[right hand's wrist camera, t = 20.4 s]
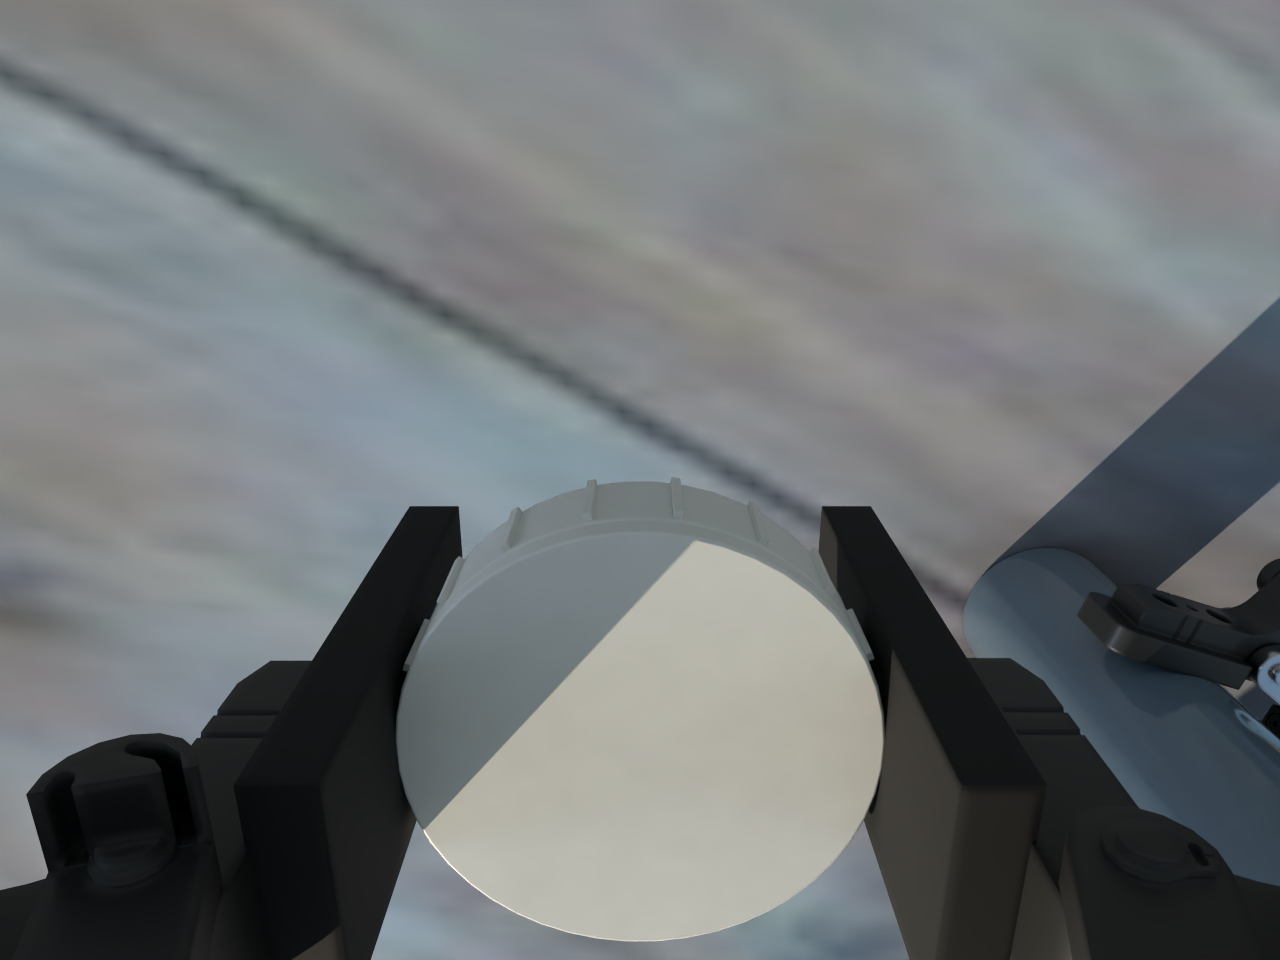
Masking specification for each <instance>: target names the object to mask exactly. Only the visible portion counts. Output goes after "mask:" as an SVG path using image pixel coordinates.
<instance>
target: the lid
mask: <svg viewBox="0 0 1280 960" xmlns="http://www.w3.org/2000/svg"><path fill="white" fill-rule="evenodd" d="M873 659H874V656H873V653H872V650H871V648H870V646H869V644H868V642H867V639H866V637H865V635H864V633H863V631H862V628H861V626H860V624H859V622H858V620H857V617H856V615H855V613H854V611H853V609H849V610H846V608H845V606H844V604H843V601H842V599H841V597H840V595H839V593H838V592H837V590H836V588H835V586H834V585H833V583H832V581H831V579H830V577H829V575H828V573H827V570H826V568H825V566H824V564H823V561H822V559H821V557H820V554H819V552H818V551H817V550H816V549H815V548H814V547H813V548H812V549H810V550H809V551H808V550H807V549H806V548H805V547H804V546H803V545H802V544H801V543H800V542H799V541H798V540H797V539H796V538H795V537H794V536H793V535H792V534H790V533H789V532H788V531H786V530H785V529H783V528H782V527H781V526H779V525H778V524H777V523H775V522H774V521H772V520H771V519H770V518H768V517H767V516H765V515H763V514H761V513H760V510H759V506H758V504H756V503H754V502H752V501H750V503H749V504H748V506H746V505H744V504H743V503H740V502H738V501H735V500H732V499H730V498H727V497H725V496H722V495H719V494H717V493H714V492H710V491H706V490H702V489H698V488H694V487H690V486H686V485H681V483H680V479H679V478H671V482H670V483H661V482H619V483H611V484H603V485H597V482H596V480H590V481H587V487H586V488H583V489H579V490H575V491H571V492H567V493H563V494H561V495H558V496H556V497H553V498H551V499H548V500H546V501H543V502H541V503H538V504H536V505H534V506H532V507H530V508H529V509H527V510H525V511H523V512H522V511H521V510H520V508H519V507H517V508H515V509H514V510H512V511H511V514H510V517H509V520H508V521H507V522H505V523H504V524H503V525H501V526H500V527H498V528H497V529H496V530H494V531H493V532H492V533H490V534H489V535H488V536H487V537H486V538H485V539H484V540H483V541H482V542H481V543H480V544H479V545H478V546H477V547H476V548H475V549H474V550H472V551H471V552H470V553H469V554H468V556H467V557H466V558H465V559H463V558H461V557H460V556H459V557H458V558H457V559H456V560H455V561H454V564H453V566H452V568H451V570H450V573H449V575H448V577H447V579H446V582H445V584H444V586H443V588H442V591H441V593H440V595H439V597H438V600H437V605H436V607H435V609H434V612H433V614H432V616H431V618H430V620H428V619H424V621H423V624H422V626H421V628H420V630H419V632H418V635H417V637H416V639H415V641H414V643H413V646H412V648H411V650H410V652H409V654H408V657H407V659H406V661H405V663H404V667H403V671H407V675H406V678H405V680H404V683H403V686H402V689H401V694H400V699H399V704H398V709H397V714H396V746H397V755H398V764H399V773H400V776H401V780H402V783H403V787H404V791H405V794H406V797H407V799H408V802H409V804H410V806H411V808H412V811H413V813H414V815H415V817H416V820H417V821H418V823H419V825H420V826H421V828H422V829H423V831H424V833H425V834H426V836H427V837H428V839H429V840H430V842H431V844H432V845H433V846H434V847H435V848H436V850H437V851H438V852H439V853H440V854H441V856H442V857H443V858H444V859H445V860H446V862H447V863H448V864H449V865H450V866H451V867H452V868H453V869H454V870H456V871H457V872H458V873H459V874H460V875H461V876H462V877H463V878H464V879H465V880H466V881H467V882H468V883H470V884H471V885H473V886H474V887H475V888H477V889H478V890H479V891H481V892H482V893H484V894H485V895H486V896H488V897H489V898H490V899H492V900H494V901H495V902H497V903H499V904H501V905H503V906H504V907H506V908H508V909H510V910H511V911H513V912H515V913H517V914H519V915H522V916H524V917H526V918H529V919H531V920H533V921H536V922H538V923H540V924H543V925H546V926H549V927H553V928H556V929H559V930H562V931H566V932H569V933H573V934H578V935H583V936H588V937H594V938H599V939H610V940H620V941H662V940H671V939H681V938H688V937H693V936H697V935H702V934H707V933H712V932H716V931H719V930H722V929H725V928H728V927H731V926H734V925H738V924H741V923H743V922H745V921H748V920H750V919H752V918H754V917H757V916H759V915H761V914H763V913H766V912H768V911H770V910H771V909H773V908H775V907H776V906H778V905H780V904H782V903H783V902H785V901H787V900H789V899H790V898H792V897H793V896H795V895H796V894H797V893H799V892H800V891H801V890H803V889H804V888H805V887H807V886H808V885H809V884H811V883H812V882H813V881H815V880H816V879H817V878H818V877H819V876H820V875H821V874H822V873H823V872H824V871H825V870H826V869H827V868H828V867H829V866H830V865H831V864H832V863H833V862H834V861H835V860H836V859H837V858H838V856H839V855H840V854H841V853H842V851H843V850H844V849H845V848H846V847H847V845H848V844H849V843H850V842H851V840H852V839H853V837H854V835H855V834H856V832H857V830H858V829H859V827H860V825H861V824H862V822H863V820H864V819H865V817H866V814H867V812H868V810H869V807H870V805H871V803H872V800H873V798H874V796H875V793H876V790H877V786H878V782H879V778H880V774H881V770H882V761H883V752H884V743H885V723H884V711H883V706H882V701H881V697H880V692H879V687H878V684H877V681H876V679H875V676H874V674H873V671H872V668H871V666H870V663H869V661H870V660H873Z"/></svg>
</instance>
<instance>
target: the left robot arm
mask: <svg viewBox="0 0 1280 960" xmlns="http://www.w3.org/2000/svg"><path fill="white" fill-rule="evenodd" d="M1257 587H1258V590H1259V591H1258V592H1257V593H1256V594H1254V595H1253V596H1252V597H1251V598H1250V599H1249V600H1247V601H1246V602H1244V603H1243V604H1241V605H1239V606H1236V607H1233V608H1232V607H1227V608H1222V609H1221V608H1215V607H1212V606H1209V605H1206V604H1202V603H1199V602H1196V601H1192V600H1189V599H1186V598H1183V597H1179V596H1176V595H1171V594H1170V593H1166V592H1163V591H1158V590H1156V589H1153V588H1150V587H1147V586H1144V585H1140V584H1130V585H1118V587H1117V588H1116V590H1115V592H1114V594H1113V595H1112V597H1110V596H1107V595H1104V594H1100V593H1097V592H1089V594H1088V596H1087V597H1086V599H1085V601H1084V603H1083V605H1082V606H1081V608H1080V610H1079V612H1078V614H1077V616H1078V617H1079V619H1080V620H1081V621H1082V622H1083V623H1084V624H1085V625H1086V626H1087V627H1088V628H1089V629H1090V631H1091V632H1092V633H1093V634H1094V635H1095V636H1096V637H1097V638H1098V639H1099V640H1100V641H1101V642H1102V643H1103V644H1104V645H1105V646H1107V647H1108V648H1110V649H1111V650H1113V651H1115V652H1117V653H1119V654H1121V655H1123V656H1126V657H1129V658H1133V659H1136V660H1140V661H1143V662H1146V663H1150V664H1153V665H1156V666H1160V667H1163V668H1167V669H1170V670H1173V671H1177V672H1180V673H1183V674H1187V675H1190V676H1194V677H1198V678H1202V679H1206V680H1208V681H1211V682H1214V683H1217V684H1221V685H1224V686H1227V687H1231V688H1234V689H1237V690H1239V689H1240V687H1241V685H1242V684H1243V682H1244V681H1245V679H1246V680H1250V681H1253V682H1254V683H1255V684H1256V685H1257V686H1258V687H1259V688H1261V689H1262V690H1263V691H1264V692H1265V693H1266V694H1268V695H1269V696H1270V697H1271V698H1272V699H1273V700H1275V701H1276V702H1277V703H1278V704H1279V705H1280V559H1277V560H1274V561H1272V562H1270V563H1268V564H1267V565H1266V566H1265V567H1264V568H1263V569H1262V570H1261V571H1260V573H1259V575H1258V578H1257ZM1261 722H1262V723H1264V724H1265V725H1266V726H1267V727H1268V728H1269V729H1270V730H1271V731H1272V732H1273V733H1274V734H1275V735H1276V736H1277V737H1279V738H1280V706H1278V705H1275V704H1273V705H1272V706H1271V708H1270V709H1269V711H1268V712H1267V714H1266V715H1265V717H1264V718H1263V720H1262V721H1261Z"/></svg>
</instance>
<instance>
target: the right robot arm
mask: <svg viewBox="0 0 1280 960" xmlns="http://www.w3.org/2000/svg"><path fill="white" fill-rule="evenodd" d="M819 554H820V557H821V559H822V561H823V564H824V566H825V568H826V570H827V573H828V575H829V577H830V579H831V581H832V583H833V585H834V586H835V588H836V590H837V592H838V593H839V595H840V597H841V599H842V601H843V604H844V606H845V608H846V610H849V609H853V611H854V613H855V615H856V617H857V620H858V622H859V624H860V626H861V628H862V631H863V633H864V635H865V637H866V639H867V642H868V644H869V646H870V648H871V650H872V653H873V656H874V659H873V660H870V661H869V663H870V666H871V668H872V671H873V674H874V676H875V679H876V681H877V684H878V687H879V692H880V697H881V701H882V706H883V711H884V723H885V743H884V752H883V761H882V770H881V774H880V778H879V782H878V786H877V790H876V793H875V796H874V798H873V800H872V803H871V805H870V807H869V810H868V812H867V814H866V817H865V819H864V822H865V825H866V828H867V831H868V834H869V837H870V840H871V843H872V846H873V849H874V852H875V855H876V858H877V861H878V864H879V867H880V870H881V873H882V876H883V879H884V882H885V885H886V889H887V892H888V895H889V898H890V901H891V904H892V907H893V910H894V913H895V916H896V919H897V922H898V925H899V928H900V931H901V934H902V937H903V940H904V943H905V946H906V949H907V952H908V955H909V958H910V960H1280V886H1276V885H1272V884H1268V883H1263V882H1259V881H1255V880H1251V879H1248V878H1244V877H1241V876H1238V875H1234V874H1233V873H1232V871H1231V869H1230V868H1229V866H1228V865H1227V863H1226V862H1225V860H1224V859H1223V858H1222V856H1221V855H1220V853H1219V852H1218V850H1217V849H1216V848H1214V847H1213V846H1212V845H1211V844H1209V843H1208V842H1207V841H1206V840H1204V839H1203V838H1202V837H1201V836H1200V835H1198V834H1197V833H1196V832H1195V831H1193V830H1192V829H1190V828H1188V827H1186V826H1184V825H1182V824H1180V823H1178V822H1176V821H1174V820H1172V819H1170V818H1168V817H1166V816H1164V815H1161V814H1157V813H1154V812H1150V811H1147V810H1143V809H1140V808H1139V807H1138V806H1137V804H1136V803H1135V802H1134V800H1133V799H1132V798H1131V796H1130V795H1129V794H1128V792H1127V791H1126V790H1125V788H1124V787H1123V786H1122V784H1121V783H1120V782H1119V780H1118V779H1117V778H1116V776H1115V775H1114V774H1113V772H1112V771H1111V770H1110V768H1109V767H1108V766H1107V764H1106V763H1105V762H1104V760H1103V759H1102V758H1101V756H1100V755H1099V754H1098V752H1097V751H1096V750H1095V748H1094V747H1093V746H1092V744H1091V743H1090V742H1089V740H1088V739H1087V738H1086V736H1085V735H1081V734H1080V728H1079V727H1078V726H1077V724H1076V723H1075V722H1074V720H1073V719H1072V718H1071V716H1070V715H1069V714H1068V713H1064V707H1063V706H1062V704H1061V703H1060V702H1059V700H1058V699H1057V698H1056V696H1055V695H1054V694H1053V692H1052V691H1051V690H1050V688H1049V687H1048V686H1047V684H1046V683H1045V682H1044V681H1043V680H1042V679H1040V678H1039V677H1038V676H1036V675H1035V674H1033V673H1032V672H1030V671H1029V670H1027V669H1026V668H1024V667H1023V666H1021V665H1020V664H1018V663H1017V662H1015V661H1014V660H1012V659H1011V658H966V656H965V655H964V653H963V651H962V650H961V648H960V647H959V645H958V643H957V642H956V640H955V639H954V637H953V636H952V634H951V632H950V631H949V629H948V628H947V626H946V625H945V623H944V621H943V620H942V618H941V617H940V615H939V613H938V612H937V610H936V609H935V607H934V606H933V604H932V602H931V601H930V599H929V598H928V596H927V595H926V593H925V591H924V590H923V588H922V587H921V585H920V584H919V582H918V580H917V579H916V577H915V576H914V574H913V572H912V571H911V569H910V568H909V566H908V565H907V563H906V561H905V560H904V558H903V557H902V555H901V554H900V552H899V550H898V549H897V547H896V546H895V544H894V542H893V541H892V539H891V538H890V536H889V535H888V533H887V531H886V530H885V528H884V527H883V525H882V524H881V522H880V520H879V519H878V517H877V516H876V514H875V512H874V511H873V509H872V508H871V506H822V514H821V527H820V540H819ZM459 556H460V557H461V558H462V546H461V532H460V519H459V506H410V507H409V509H408V510H407V512H406V513H405V515H404V517H403V518H402V520H401V521H400V523H399V524H398V526H397V528H396V529H395V531H394V532H393V534H392V536H391V537H390V539H389V540H388V542H387V543H386V545H385V547H384V548H383V550H382V551H381V553H380V554H379V556H378V558H377V559H376V561H375V562H374V564H373V566H372V567H371V569H370V570H369V572H368V573H367V575H366V577H365V578H364V580H363V581H362V583H361V584H360V586H359V588H358V589H357V591H356V592H355V594H354V596H353V597H352V599H351V600H350V602H349V603H348V605H347V607H346V608H345V610H344V611H343V613H342V614H341V616H340V618H339V619H338V621H337V622H336V624H335V625H334V627H333V629H332V630H331V632H330V633H329V635H328V637H327V638H326V640H325V641H324V643H323V644H322V646H321V648H320V649H319V651H318V652H317V654H316V655H315V657H314V659H313V660H312V661H270V662H268V663H267V664H265V665H264V666H262V667H261V668H260V669H258V670H257V671H255V672H254V673H252V674H251V675H249V676H248V677H246V678H245V679H243V680H242V681H241V682H239V683H238V684H237V685H236V686H235V688H234V689H233V690H232V692H231V693H230V694H229V696H228V697H227V698H226V700H225V701H224V702H223V704H222V705H221V706H220V708H219V709H218V713H217V716H213V717H212V718H211V720H210V721H209V722H208V724H207V725H206V726H205V728H204V729H203V730H202V732H201V738H197V739H196V740H195V741H194V743H193V744H192V745H190V744H189V743H187V742H186V741H185V740H184V739H183V738H179V737H174V736H170V735H165V734H161V733H156V734H137V735H128V736H124V737H120V738H116V739H112V740H108V741H104V742H100V743H97V744H95V745H93V746H91V747H88V748H86V749H84V750H82V751H79V752H77V753H75V754H73V755H70V756H68V757H67V758H65V759H64V760H62V761H61V762H60V763H58V764H57V765H55V766H54V767H52V768H51V769H50V770H48V771H47V772H45V773H44V774H42V776H41V777H40V778H39V779H38V781H37V782H36V783H35V784H34V786H33V787H32V788H31V789H30V790H29V792H28V793H27V794H26V795H27V799H28V802H29V806H30V809H31V813H32V816H33V819H34V823H35V826H36V830H37V833H38V837H39V840H40V844H41V847H42V851H43V854H44V858H45V861H46V865H47V868H48V874H47V877H46V879H43V880H39V881H36V882H33V883H29V884H26V885H21V886H17V887H12V888H8V889H4V890H0V960H371V957H372V954H373V951H374V948H375V945H376V942H377V939H378V936H379V933H380V930H381V927H382V924H383V921H384V918H385V915H386V911H387V908H388V905H389V902H390V899H391V896H392V893H393V890H394V887H395V884H396V881H397V878H398V875H399V872H400V869H401V866H402V863H403V860H404V857H405V854H406V851H407V848H408V845H409V842H410V839H411V836H412V833H413V830H414V827H415V824H416V821H417V820H416V817H415V815H414V813H413V811H412V808H411V806H410V804H409V802H408V799H407V797H406V794H405V791H404V787H403V783H402V780H401V776H400V773H399V764H398V755H397V746H396V714H397V709H398V704H399V699H400V694H401V689H402V686H403V683H404V680H405V678H406V675H407V671H403V667H404V663H405V661H406V659H407V657H408V654H409V652H410V650H411V648H412V646H413V643H414V641H415V639H416V637H417V635H418V632H419V630H420V628H421V626H422V624H423V621H424V619H428V620H430V618H431V616H432V614H433V612H434V609H435V607H436V605H437V600H438V597H439V595H440V593H441V591H442V588H443V586H444V584H445V582H446V579H447V577H448V575H449V573H450V570H451V568H452V566H453V564H454V561H455V560H456V559H457V558H458V557H459Z"/></svg>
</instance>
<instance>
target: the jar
mask: <svg viewBox="0 0 1280 960" xmlns="http://www.w3.org/2000/svg"><path fill="white" fill-rule="evenodd" d="M1116 588H1117V586H1116V585H1115V584H1114V583H1113V582H1112V581H1111V580H1110V579H1109V578H1108V577H1107V576H1105V575H1104V574H1103V573H1102V572H1101V571H1100V570H1099V569H1098V568H1097V567H1096V566H1095V565H1094V564H1092V563H1091V562H1090V561H1089V560H1087V559H1086V558H1084V557H1082V556H1081V555H1079V554H1076V553H1074V552H1071V551H1067V550H1063V549H1057V548H1037V549H1030V550H1026V551H1022V552H1019V553H1017V554H1014V555H1011V556H1009V557H1007V558H1005V559H1003V560H1002V561H1000V562H999V563H997V564H995V565H994V566H993V567H992V568H990V569H989V570H988V571H987V572H986V573H985V574H984V575H983V576H982V577H981V578H980V579H979V580H978V582H977V583H976V584H975V586H974V587H973V589H972V591H971V592H970V594H969V597H968V599H967V601H966V605H965V608H964V614H963V631H964V636H965V639H966V642H967V644H968V646H969V648H970V650H971V651H972V653H973V654H974V656H975V658H1011V659H1012V660H1014V661H1015V662H1017V663H1018V664H1020V665H1021V666H1023V667H1024V668H1026V669H1027V670H1029V671H1030V672H1032V673H1033V674H1035V675H1036V676H1038V677H1039V678H1040V679H1042V680H1043V681H1044V682H1045V683H1046V684H1047V686H1048V687H1049V688H1050V690H1051V691H1052V692H1053V694H1054V695H1055V696H1056V698H1057V699H1058V700H1059V702H1060V703H1061V704H1062V706H1063V707H1064V713H1068V714H1069V715H1070V716H1071V718H1072V719H1073V720H1074V722H1075V723H1076V724H1077V726H1078V727H1079V728H1080V734H1081V735H1085V736H1086V738H1087V739H1088V740H1089V742H1090V743H1091V744H1092V746H1093V747H1094V748H1095V750H1096V751H1097V752H1098V754H1099V755H1100V756H1101V758H1102V759H1103V760H1104V762H1105V763H1106V764H1107V766H1108V767H1109V768H1110V770H1111V771H1112V772H1113V774H1114V775H1115V776H1116V778H1117V779H1118V780H1119V782H1120V783H1121V784H1122V786H1123V787H1124V788H1125V790H1126V791H1127V792H1128V794H1129V795H1130V796H1131V798H1132V799H1133V800H1134V802H1135V803H1136V804H1137V806H1138V807H1139V808H1140V809H1143V810H1147V811H1150V812H1154V813H1157V814H1161V815H1164V816H1166V817H1168V818H1170V819H1172V820H1174V821H1176V822H1178V823H1180V824H1182V825H1184V826H1186V827H1188V828H1190V829H1192V830H1193V831H1195V832H1196V833H1197V834H1198V835H1200V836H1201V837H1202V838H1203V839H1204V840H1206V841H1207V842H1208V843H1209V844H1211V845H1212V846H1213V847H1214V848H1216V849H1217V850H1218V852H1219V853H1220V855H1221V856H1222V858H1223V859H1224V860H1225V862H1226V863H1227V865H1228V866H1229V868H1230V869H1231V871H1232V873H1233V874H1234V875H1238V876H1241V877H1244V878H1248V879H1251V880H1255V881H1259V882H1263V883H1268V884H1272V885H1276V886H1280V738H1279V737H1277V736H1276V735H1275V734H1274V733H1273V732H1272V731H1271V730H1270V729H1269V728H1268V727H1267V726H1266V725H1265V724H1264V723H1262V722H1261V721H1260V720H1259V719H1258V718H1257V717H1256V716H1255V715H1254V714H1253V713H1252V712H1251V711H1250V710H1249V709H1248V708H1246V707H1245V706H1244V705H1243V704H1242V703H1241V702H1240V701H1239V700H1238V699H1237V698H1236V697H1235V696H1234V695H1233V694H1232V693H1230V692H1229V691H1228V690H1227V689H1226V688H1225V687H1224V686H1223V685H1221V684H1217V683H1214V682H1211V681H1208V680H1206V679H1202V678H1198V677H1194V676H1190V675H1187V674H1183V673H1180V672H1177V671H1173V670H1170V669H1167V668H1163V667H1160V666H1156V665H1153V664H1150V663H1146V662H1143V661H1140V660H1136V659H1133V658H1129V657H1126V656H1123V655H1121V654H1119V653H1117V652H1115V651H1113V650H1111V649H1110V648H1108V647H1107V646H1105V645H1104V644H1103V643H1102V642H1101V641H1100V640H1099V639H1098V638H1097V637H1096V636H1095V635H1094V634H1093V633H1092V632H1091V631H1090V629H1089V628H1088V627H1087V626H1086V625H1085V624H1084V623H1083V622H1082V621H1081V620H1080V619H1079V617H1078V616H1077V614H1078V612H1079V610H1080V608H1081V606H1082V605H1083V603H1084V601H1085V599H1086V597H1087V596H1088V594H1089V592H1097V593H1100V594H1104V595H1107V596H1110V597H1112V595H1113V594H1114V592H1115V590H1116Z"/></svg>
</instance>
